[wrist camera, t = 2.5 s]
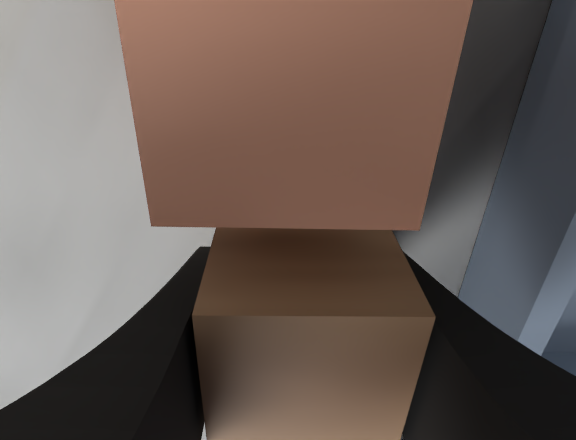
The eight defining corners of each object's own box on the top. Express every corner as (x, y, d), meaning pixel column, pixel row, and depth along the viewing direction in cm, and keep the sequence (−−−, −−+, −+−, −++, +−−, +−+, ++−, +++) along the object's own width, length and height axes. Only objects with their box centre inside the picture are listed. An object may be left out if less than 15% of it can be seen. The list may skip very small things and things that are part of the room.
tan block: (354, 300, 13) (395, 456, 8) (232, 299, 13) (209, 457, 8) (371, 190, 11) (435, 316, 6) (227, 187, 11) (192, 315, 6)
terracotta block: (358, 132, 10) (419, 230, 6) (206, 129, 10) (151, 226, 6) (381, -52, 8) (499, -113, 4) (191, -60, 8) (92, -133, 4)
